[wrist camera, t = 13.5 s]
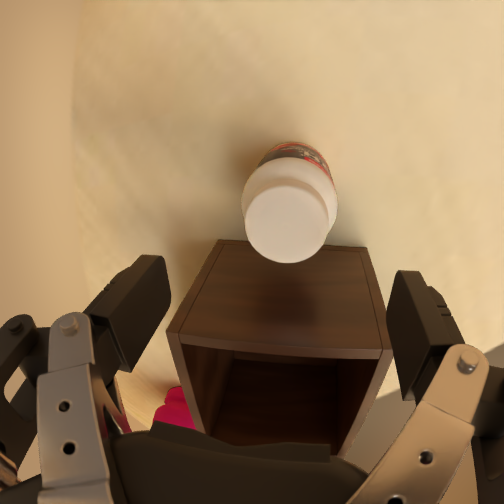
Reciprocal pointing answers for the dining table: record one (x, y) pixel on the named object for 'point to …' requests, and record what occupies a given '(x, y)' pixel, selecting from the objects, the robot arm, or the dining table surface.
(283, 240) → the pill bottle
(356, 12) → the dining table surface
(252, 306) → the chest
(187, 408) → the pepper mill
